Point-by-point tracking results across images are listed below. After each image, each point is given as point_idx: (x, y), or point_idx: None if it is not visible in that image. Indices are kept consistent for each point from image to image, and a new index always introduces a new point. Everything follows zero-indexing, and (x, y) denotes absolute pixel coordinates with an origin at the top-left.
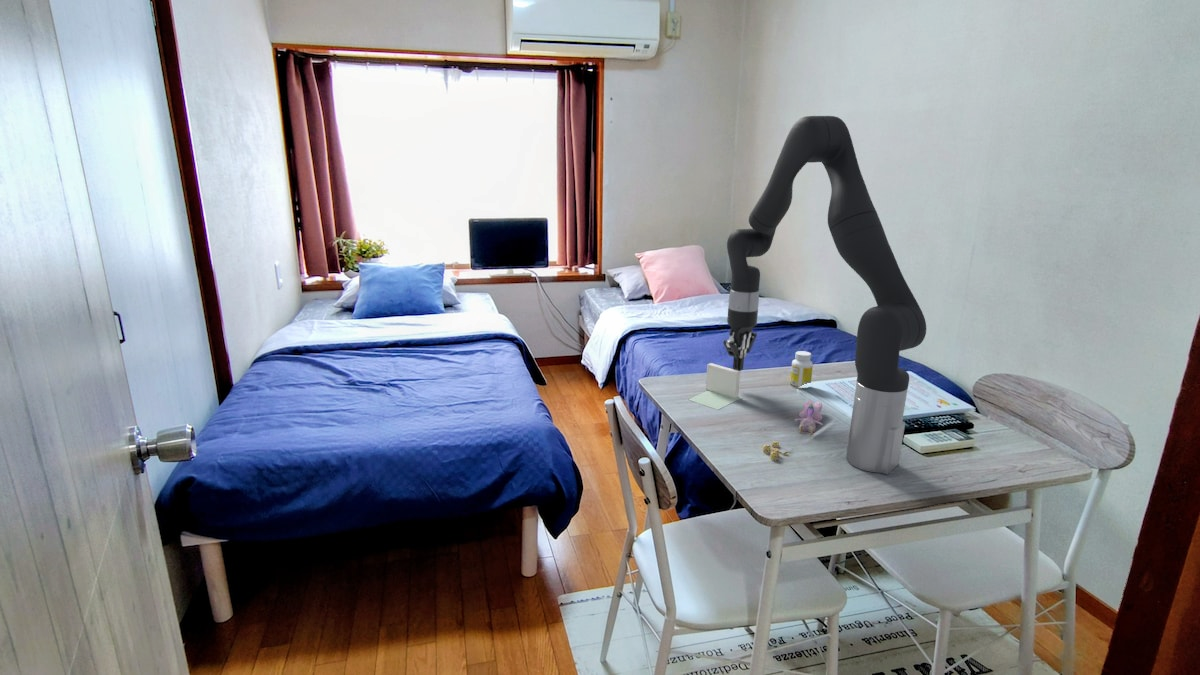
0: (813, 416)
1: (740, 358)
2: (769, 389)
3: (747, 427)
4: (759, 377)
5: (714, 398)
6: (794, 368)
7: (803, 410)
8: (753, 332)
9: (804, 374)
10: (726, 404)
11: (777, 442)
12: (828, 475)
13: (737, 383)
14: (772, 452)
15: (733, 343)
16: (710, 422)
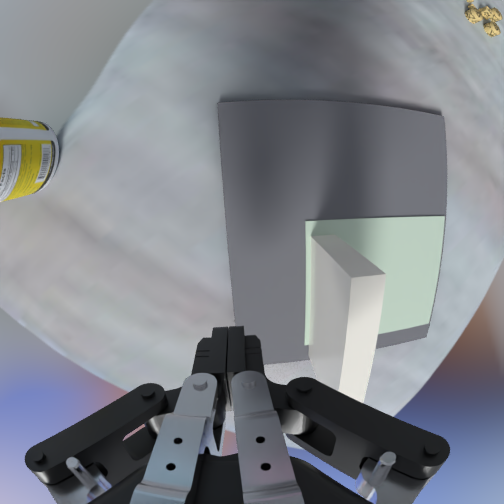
0: None
1: (246, 374)
2: (123, 211)
3: (456, 94)
4: (71, 305)
5: None
6: (5, 165)
7: None
8: (43, 483)
9: (11, 123)
10: (400, 221)
11: (474, 9)
12: None
13: (346, 253)
14: (499, 16)
15: (434, 452)
16: (489, 189)
